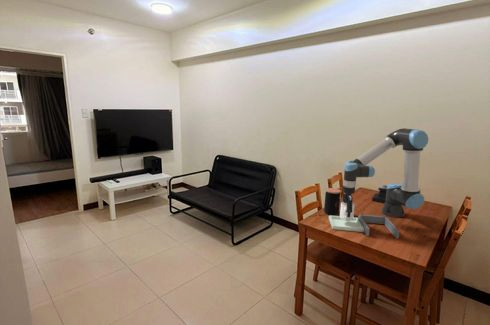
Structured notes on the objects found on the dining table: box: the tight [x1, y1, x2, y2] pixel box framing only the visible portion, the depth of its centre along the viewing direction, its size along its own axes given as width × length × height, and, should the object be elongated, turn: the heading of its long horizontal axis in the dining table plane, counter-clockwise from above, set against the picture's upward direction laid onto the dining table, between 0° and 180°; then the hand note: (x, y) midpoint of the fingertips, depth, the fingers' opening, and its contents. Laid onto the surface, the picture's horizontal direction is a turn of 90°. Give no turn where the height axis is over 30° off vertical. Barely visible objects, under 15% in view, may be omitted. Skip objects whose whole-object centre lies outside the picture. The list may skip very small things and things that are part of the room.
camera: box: [371, 185, 388, 204], centre depth 224 cm, size 16×14×15 cm
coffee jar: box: [323, 187, 342, 216], centre depth 196 cm, size 11×11×18 cm
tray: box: [328, 215, 365, 233], centre depth 177 cm, size 19×17×2 cm
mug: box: [339, 201, 356, 221], centre depth 175 cm, size 9×12×11 cm
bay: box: [357, 214, 400, 240], centre depth 171 cm, size 18×22×5 cm
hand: (345, 217), depth 176 cm, fingers closed on mug, 11 cm apart
